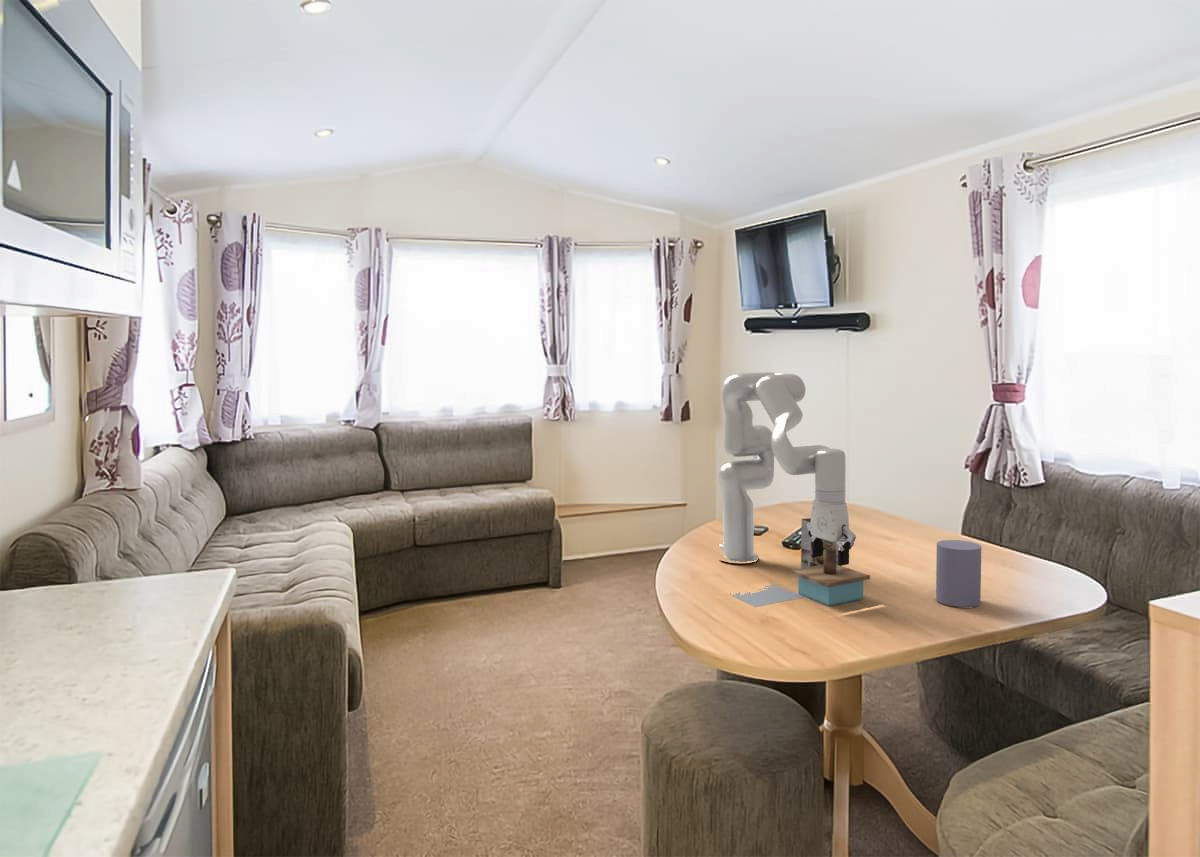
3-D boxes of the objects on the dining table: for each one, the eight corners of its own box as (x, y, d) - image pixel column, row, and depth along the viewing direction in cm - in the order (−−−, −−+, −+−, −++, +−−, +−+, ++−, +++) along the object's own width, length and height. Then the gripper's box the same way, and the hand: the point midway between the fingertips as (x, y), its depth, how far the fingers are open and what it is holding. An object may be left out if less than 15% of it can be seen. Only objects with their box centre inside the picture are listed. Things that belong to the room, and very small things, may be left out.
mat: (719, 592, 207) (719, 590, 207) (767, 583, 214) (767, 581, 214) (755, 609, 193) (755, 606, 193) (804, 599, 200) (804, 596, 199)
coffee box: (812, 577, 219) (811, 522, 217) (800, 571, 225) (800, 518, 224) (839, 574, 221) (839, 519, 220) (827, 568, 228) (827, 515, 226)
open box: (798, 596, 202) (798, 574, 202) (832, 589, 207) (832, 568, 206) (828, 608, 192) (828, 585, 191) (863, 601, 196) (863, 578, 196)
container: (937, 593, 201) (938, 538, 200) (980, 598, 196) (981, 541, 195) (934, 605, 192) (935, 547, 190) (980, 610, 187) (981, 551, 186)
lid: (791, 573, 202) (791, 548, 202) (831, 566, 208) (831, 541, 207) (827, 587, 190) (827, 560, 189) (869, 579, 195) (869, 552, 195)
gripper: (797, 492, 203) (797, 555, 205) (842, 503, 187) (842, 570, 189) (818, 490, 206) (819, 551, 208) (865, 500, 191) (865, 566, 192)
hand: (830, 560), depth 198 cm, fingers open, 9 cm apart
